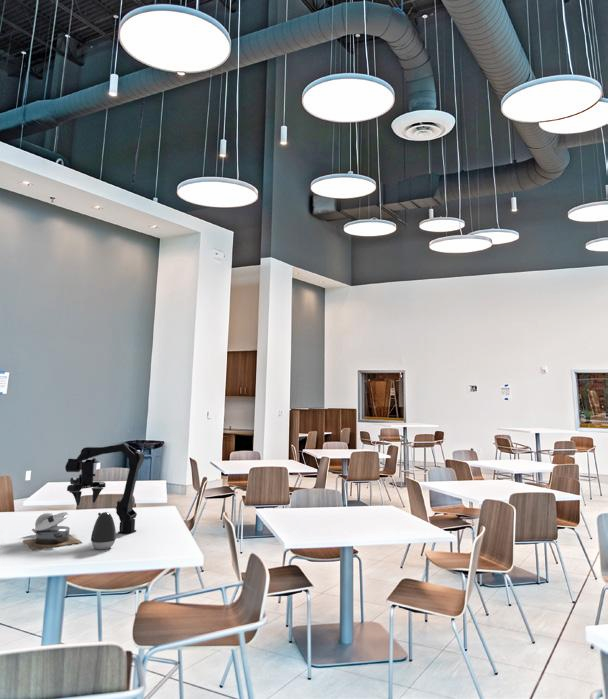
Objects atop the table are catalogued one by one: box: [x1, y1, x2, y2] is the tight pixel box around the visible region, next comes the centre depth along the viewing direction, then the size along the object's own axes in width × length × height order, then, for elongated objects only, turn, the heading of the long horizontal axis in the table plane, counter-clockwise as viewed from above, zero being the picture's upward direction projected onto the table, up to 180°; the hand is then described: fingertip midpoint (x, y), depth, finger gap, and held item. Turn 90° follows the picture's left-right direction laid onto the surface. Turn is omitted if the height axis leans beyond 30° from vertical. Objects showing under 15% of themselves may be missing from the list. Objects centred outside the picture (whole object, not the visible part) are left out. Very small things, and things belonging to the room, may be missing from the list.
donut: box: [34, 512, 59, 528], centre depth 246 cm, size 10×4×10 cm, turn 110°
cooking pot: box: [35, 525, 71, 545], centre depth 229 cm, size 14×22×5 cm, turn 40°
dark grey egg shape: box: [90, 511, 117, 551], centre depth 221 cm, size 10×10×15 cm
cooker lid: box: [31, 511, 69, 534], centre depth 229 cm, size 15×14×3 cm
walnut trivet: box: [22, 533, 83, 551], centre depth 229 cm, size 20×20×1 cm
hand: (85, 503), depth 253 cm, fingers open, 9 cm apart
